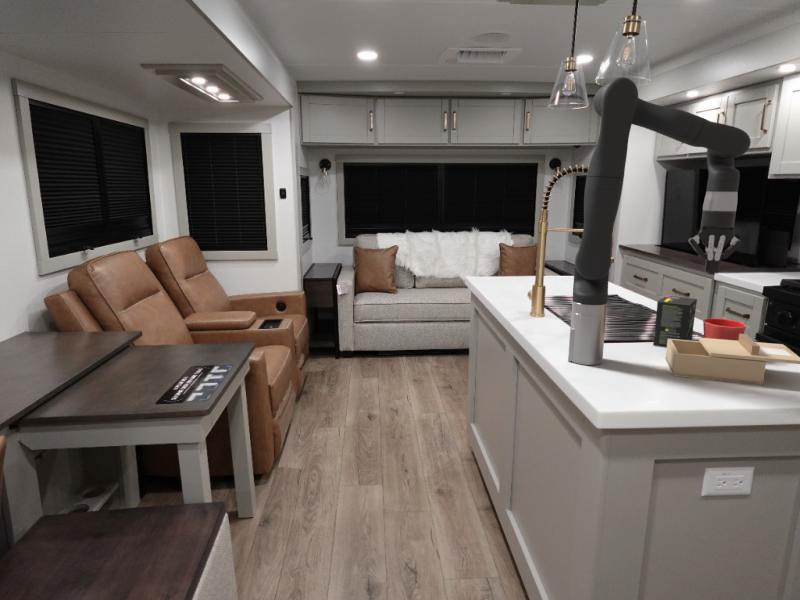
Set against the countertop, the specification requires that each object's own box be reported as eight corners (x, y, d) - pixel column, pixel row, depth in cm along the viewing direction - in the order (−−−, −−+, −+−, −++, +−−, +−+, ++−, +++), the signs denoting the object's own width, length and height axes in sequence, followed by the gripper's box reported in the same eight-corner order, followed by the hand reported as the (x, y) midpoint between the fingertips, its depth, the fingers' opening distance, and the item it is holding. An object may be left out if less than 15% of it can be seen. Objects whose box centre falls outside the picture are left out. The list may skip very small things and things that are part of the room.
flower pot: (733, 349, 157) (738, 319, 155) (747, 361, 147) (751, 328, 145) (695, 347, 160) (699, 316, 158) (705, 357, 149) (709, 325, 147)
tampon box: (660, 338, 170) (665, 294, 167) (692, 343, 164) (697, 298, 161) (652, 345, 161) (656, 300, 158) (684, 351, 156) (690, 304, 153)
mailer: (673, 375, 135) (676, 353, 134) (665, 358, 149) (667, 338, 148) (762, 384, 128) (766, 362, 127) (745, 366, 142) (748, 345, 141)
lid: (710, 355, 131) (712, 343, 130) (698, 340, 145) (700, 329, 144) (804, 364, 125) (806, 351, 124) (782, 347, 138) (784, 335, 138)
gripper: (693, 209, 134) (685, 274, 138) (752, 210, 130) (742, 277, 133) (688, 208, 141) (680, 270, 145) (744, 209, 137) (734, 273, 140)
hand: (710, 273), depth 139 cm, fingers closed
